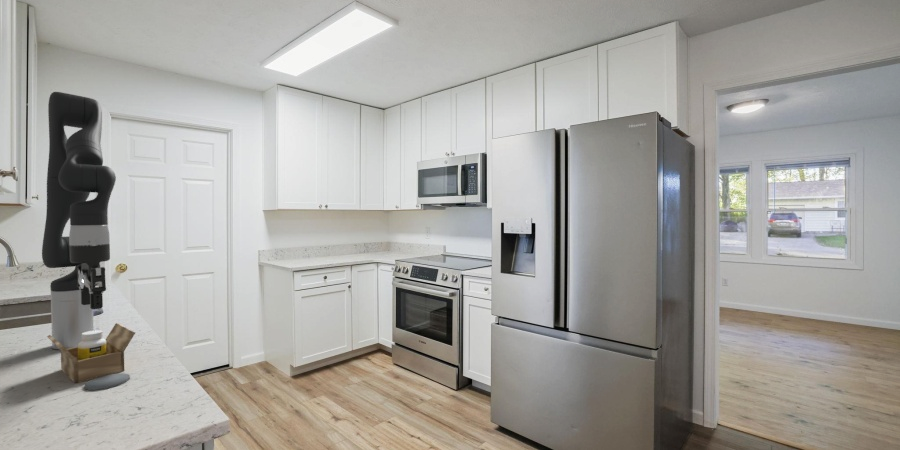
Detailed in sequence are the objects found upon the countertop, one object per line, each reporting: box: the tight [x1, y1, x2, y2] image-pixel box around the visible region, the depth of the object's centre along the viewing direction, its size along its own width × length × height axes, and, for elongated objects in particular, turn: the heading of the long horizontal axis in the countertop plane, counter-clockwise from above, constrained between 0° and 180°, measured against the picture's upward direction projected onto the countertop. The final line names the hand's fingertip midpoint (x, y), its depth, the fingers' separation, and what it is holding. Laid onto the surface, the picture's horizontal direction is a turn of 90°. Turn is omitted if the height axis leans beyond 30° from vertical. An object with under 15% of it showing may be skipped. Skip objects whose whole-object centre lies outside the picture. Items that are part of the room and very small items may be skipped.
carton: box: [46, 322, 136, 384], centre depth 100 cm, size 14×14×10 cm
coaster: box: [84, 372, 131, 391], centre depth 92 cm, size 8×8×1 cm
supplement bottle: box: [78, 329, 106, 361], centre depth 100 cm, size 5×5×10 cm
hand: (91, 306), depth 99 cm, fingers open, 8 cm apart
